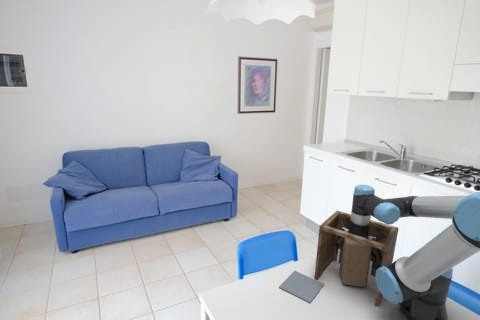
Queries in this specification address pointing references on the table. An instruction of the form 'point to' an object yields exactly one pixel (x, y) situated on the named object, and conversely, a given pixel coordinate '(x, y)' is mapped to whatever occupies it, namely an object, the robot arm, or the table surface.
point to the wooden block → (355, 263)
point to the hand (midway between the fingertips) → (353, 267)
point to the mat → (302, 286)
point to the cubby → (333, 229)
